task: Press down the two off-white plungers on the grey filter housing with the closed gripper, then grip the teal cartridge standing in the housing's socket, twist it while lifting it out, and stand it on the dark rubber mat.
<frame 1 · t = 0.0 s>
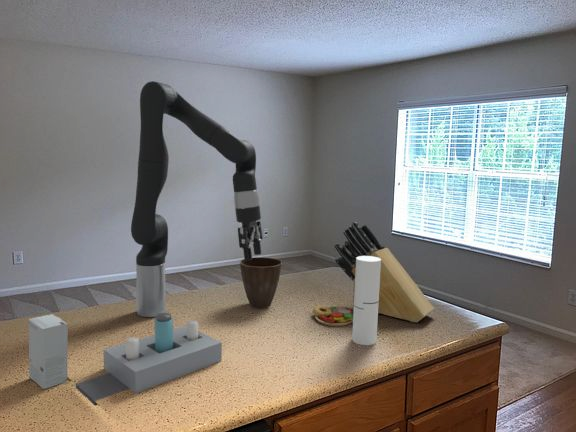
hand: (253, 257, 146), 22 cm above the worktop, tool pointing down, fingers open, 8 cm apart
cylindrical container: (364, 340, 140), on the worktop
plant pot: (260, 305, 169), on the worktop
mat: (106, 388, 108), on the worktop
plunger inner: (192, 335, 124), point 6 cm above the worktop, slide at 0.0 cm
plunger outer: (132, 353, 112), point 6 cm above the worktop, slide at 0.0 cm
cartridge: (164, 364, 119), point 1 cm above the worktop, touching housing
skincare box: (49, 380, 112), on the worktop
housing: (164, 368, 119), on the worktop
knife block: (380, 310, 168), on the worktop
toy food set: (334, 320, 157), on the worktop
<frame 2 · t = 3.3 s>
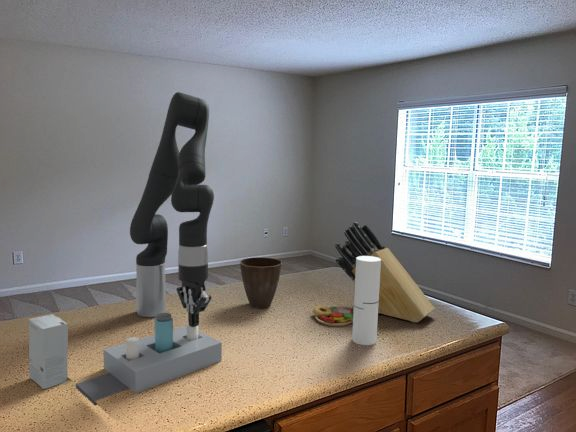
hand: (193, 325, 124), 9 cm above the worktop, tool pointing down, fingers closed
plunger inner: (192, 338, 124), point 6 cm above the worktop, slide at 0.9 cm, touching gripper
everything else where it was.
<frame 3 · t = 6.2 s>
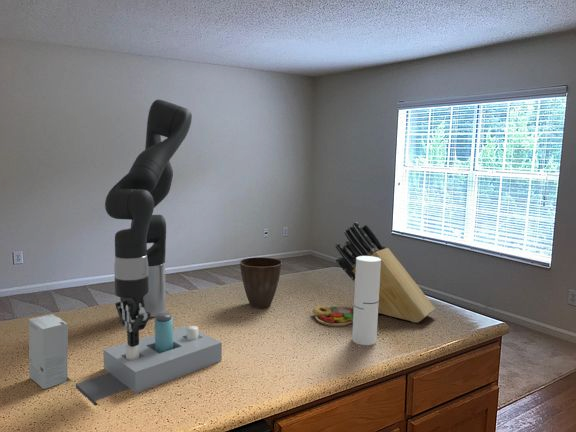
hand: (133, 345, 112), 9 cm above the worktop, tool pointing down, fingers closed
plunger inner: (192, 340, 124), point 5 cm above the worktop, slide at 1.6 cm
plunger outer: (132, 358, 112), point 5 cm above the worktop, slide at 1.3 cm, touching gripper
everything else where it was.
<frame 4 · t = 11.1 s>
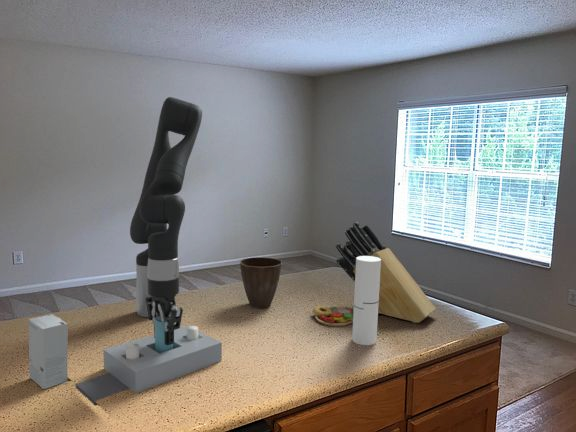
hand: (163, 340, 118), 7 cm above the worktop, tool pointing down, fingers closed on cartridge, 4 cm apart
plunger outer: (132, 359, 112), point 5 cm above the worktop, slide at 1.6 cm
cartridge: (164, 364, 119), point 1 cm above the worktop, touching gripper, housing
everything else where it was.
when the fingers open (8 cm above the worktop, at t = 17.1 s): cartridge drops 1 cm, resting on mat.
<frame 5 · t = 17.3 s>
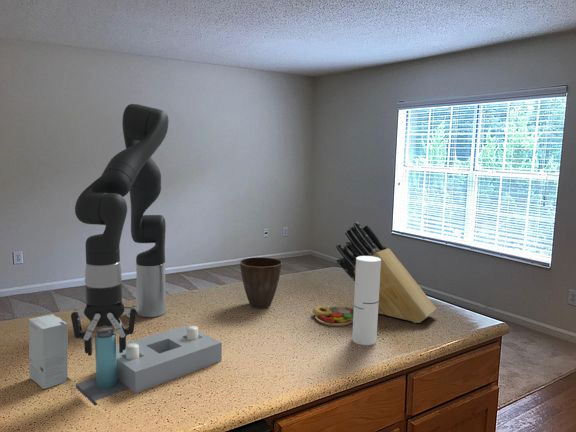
hand: (105, 352, 107), 9 cm above the worktop, tool pointing down, fingers open, 6 cm apart
cartridge: (106, 384, 108), point 1 cm above the worktop, touching mat
everything else where it was.
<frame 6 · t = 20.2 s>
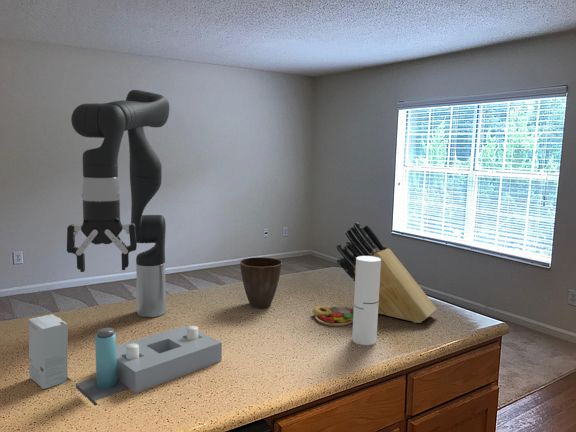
hand: (103, 270, 104), 28 cm above the worktop, tool pointing down, fingers open, 8 cm apart
at the end: cartridge inside the target area on the mat (0.0 cm from its centre), point 1.0 cm above the mat's base; plunger inner slide at 1.6 cm; plunger outer slide at 1.6 cm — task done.
